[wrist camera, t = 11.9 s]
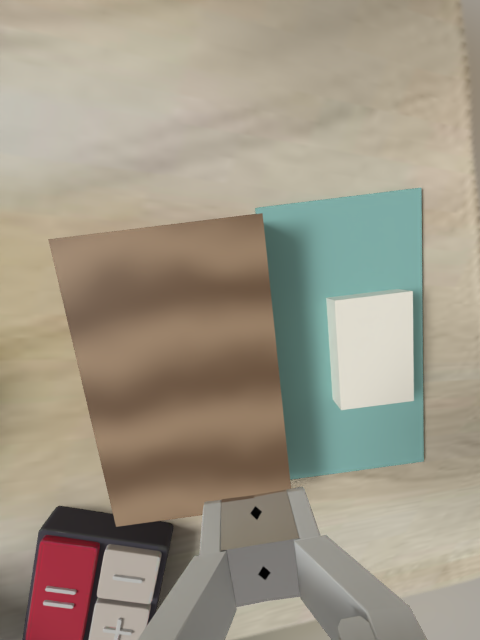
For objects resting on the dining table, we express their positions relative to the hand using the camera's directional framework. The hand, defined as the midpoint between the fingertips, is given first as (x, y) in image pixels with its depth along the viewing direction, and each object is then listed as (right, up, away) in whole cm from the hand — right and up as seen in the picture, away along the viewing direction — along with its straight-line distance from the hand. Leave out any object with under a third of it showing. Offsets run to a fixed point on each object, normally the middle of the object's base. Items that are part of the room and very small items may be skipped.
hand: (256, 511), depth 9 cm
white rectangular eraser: (+10, +3, +15) cm, 19 cm away
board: (-5, +2, +16) cm, 17 cm away
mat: (+9, +4, +17) cm, 19 cm away
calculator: (-14, -19, +21) cm, 31 cm away
